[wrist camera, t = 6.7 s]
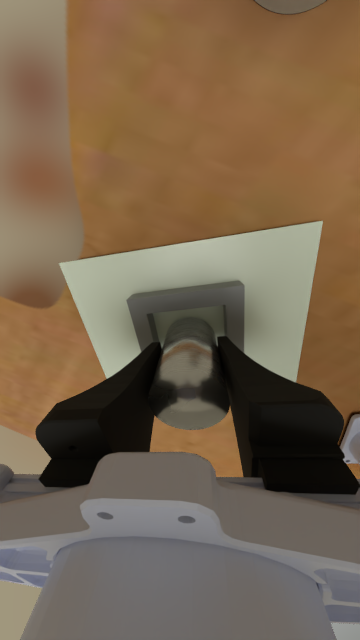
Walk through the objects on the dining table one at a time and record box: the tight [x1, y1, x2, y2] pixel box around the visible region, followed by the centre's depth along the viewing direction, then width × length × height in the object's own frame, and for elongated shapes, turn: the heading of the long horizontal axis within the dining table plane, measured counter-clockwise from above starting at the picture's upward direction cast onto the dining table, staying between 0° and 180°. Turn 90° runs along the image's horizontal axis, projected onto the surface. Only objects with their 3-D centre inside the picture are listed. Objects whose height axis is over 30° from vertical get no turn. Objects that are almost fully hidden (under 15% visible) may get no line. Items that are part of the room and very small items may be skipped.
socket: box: [59, 221, 323, 382], centre depth 14 cm, size 18×14×2 cm
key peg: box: [148, 317, 230, 430], centre depth 11 cm, size 4×4×6 cm
